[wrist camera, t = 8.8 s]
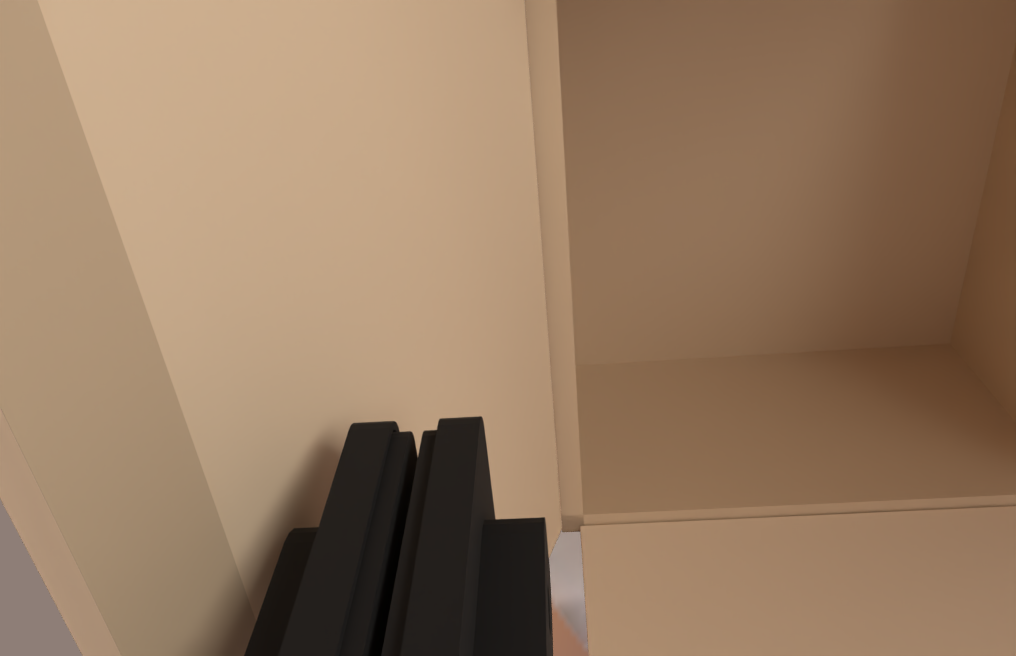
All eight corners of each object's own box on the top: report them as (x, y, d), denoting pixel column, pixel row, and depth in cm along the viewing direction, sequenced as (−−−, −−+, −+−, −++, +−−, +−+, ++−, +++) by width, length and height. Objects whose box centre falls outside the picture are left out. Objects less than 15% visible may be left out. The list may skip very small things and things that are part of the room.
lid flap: (-374, -356, 4) (-436, -334, 4) (321, 1064, 13) (288, 1047, 13) (508, -242, 14) (473, -237, 14) (562, 529, 22) (540, 524, 22)
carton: (1128, -418, 18) (2189, -881, 7) (945, 401, 30) (1216, 767, 18) (506, -347, 19) (467, -645, 8) (558, 421, 31) (575, 783, 19)
